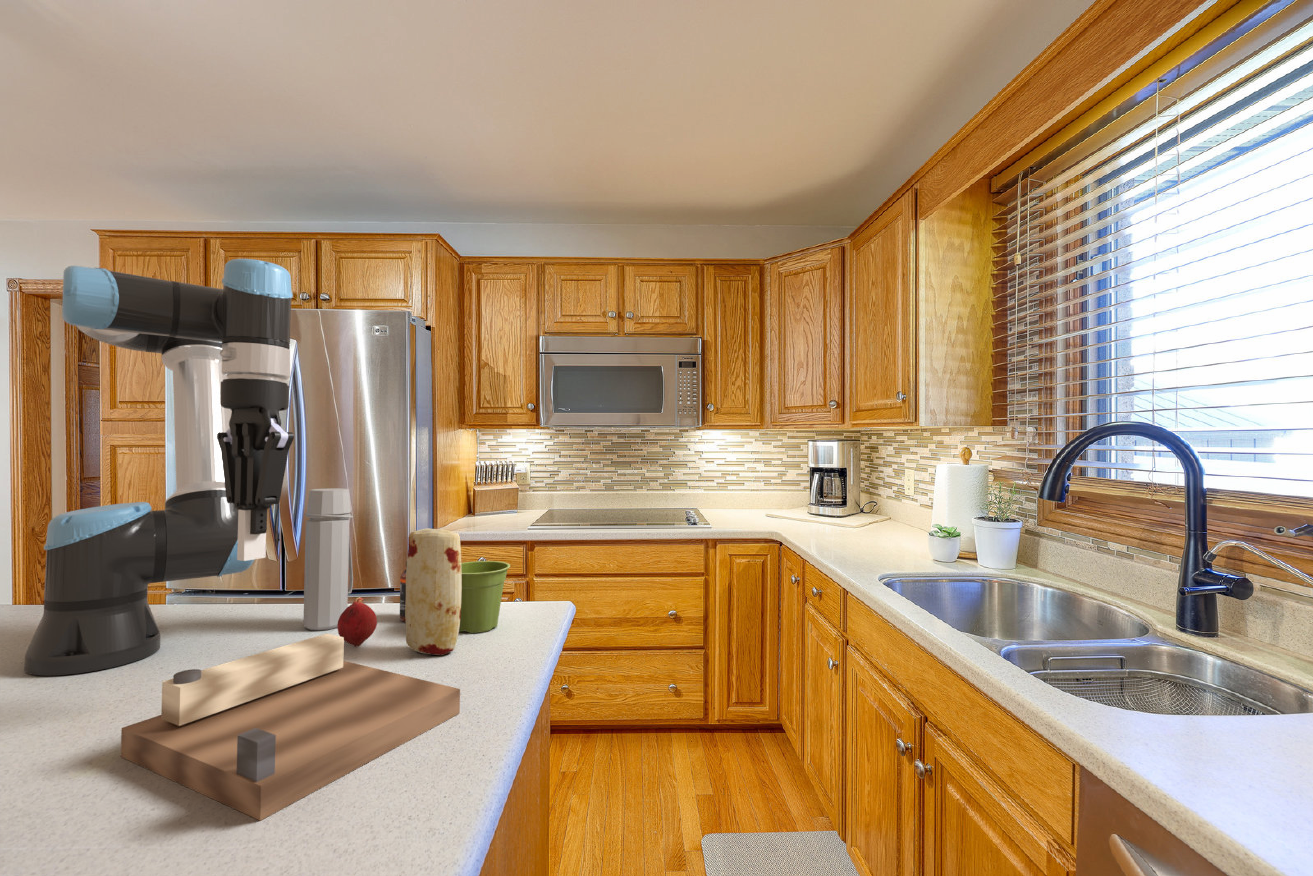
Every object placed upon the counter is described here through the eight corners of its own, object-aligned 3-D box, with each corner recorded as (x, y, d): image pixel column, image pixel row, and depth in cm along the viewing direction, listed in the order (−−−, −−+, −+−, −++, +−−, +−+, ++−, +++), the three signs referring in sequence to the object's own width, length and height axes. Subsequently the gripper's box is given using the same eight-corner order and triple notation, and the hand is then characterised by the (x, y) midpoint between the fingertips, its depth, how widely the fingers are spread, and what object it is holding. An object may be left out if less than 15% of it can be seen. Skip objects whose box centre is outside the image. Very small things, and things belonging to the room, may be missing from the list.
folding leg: (179, 726, 63) (180, 681, 63) (161, 719, 64) (162, 675, 64) (343, 667, 80) (343, 632, 80) (325, 663, 81) (326, 628, 81)
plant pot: (484, 615, 117) (485, 558, 118) (522, 627, 110) (523, 566, 110) (428, 628, 108) (430, 566, 109) (466, 642, 101) (467, 576, 101)
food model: (393, 655, 94) (396, 528, 95) (421, 642, 101) (423, 524, 101) (447, 662, 92) (449, 531, 92) (471, 648, 98) (474, 526, 98)
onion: (359, 653, 95) (361, 603, 95) (328, 651, 96) (329, 601, 96) (383, 642, 100) (384, 594, 101) (353, 639, 102) (354, 592, 102)
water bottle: (323, 634, 104) (327, 491, 105) (291, 628, 107) (295, 489, 108) (366, 620, 113) (369, 488, 113) (335, 615, 116) (338, 487, 116)
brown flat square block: (120, 756, 63) (122, 694, 63) (331, 678, 84) (332, 632, 84) (260, 820, 52) (262, 746, 52) (459, 713, 74) (460, 660, 74)
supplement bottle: (439, 617, 116) (440, 558, 116) (415, 625, 110) (416, 564, 111) (417, 613, 118) (418, 556, 118) (392, 621, 113) (393, 561, 113)
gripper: (196, 378, 78) (191, 559, 78) (256, 373, 73) (251, 568, 72) (255, 384, 85) (251, 550, 84) (314, 380, 79) (310, 558, 79)
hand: (251, 558), depth 78 cm, fingers closed
